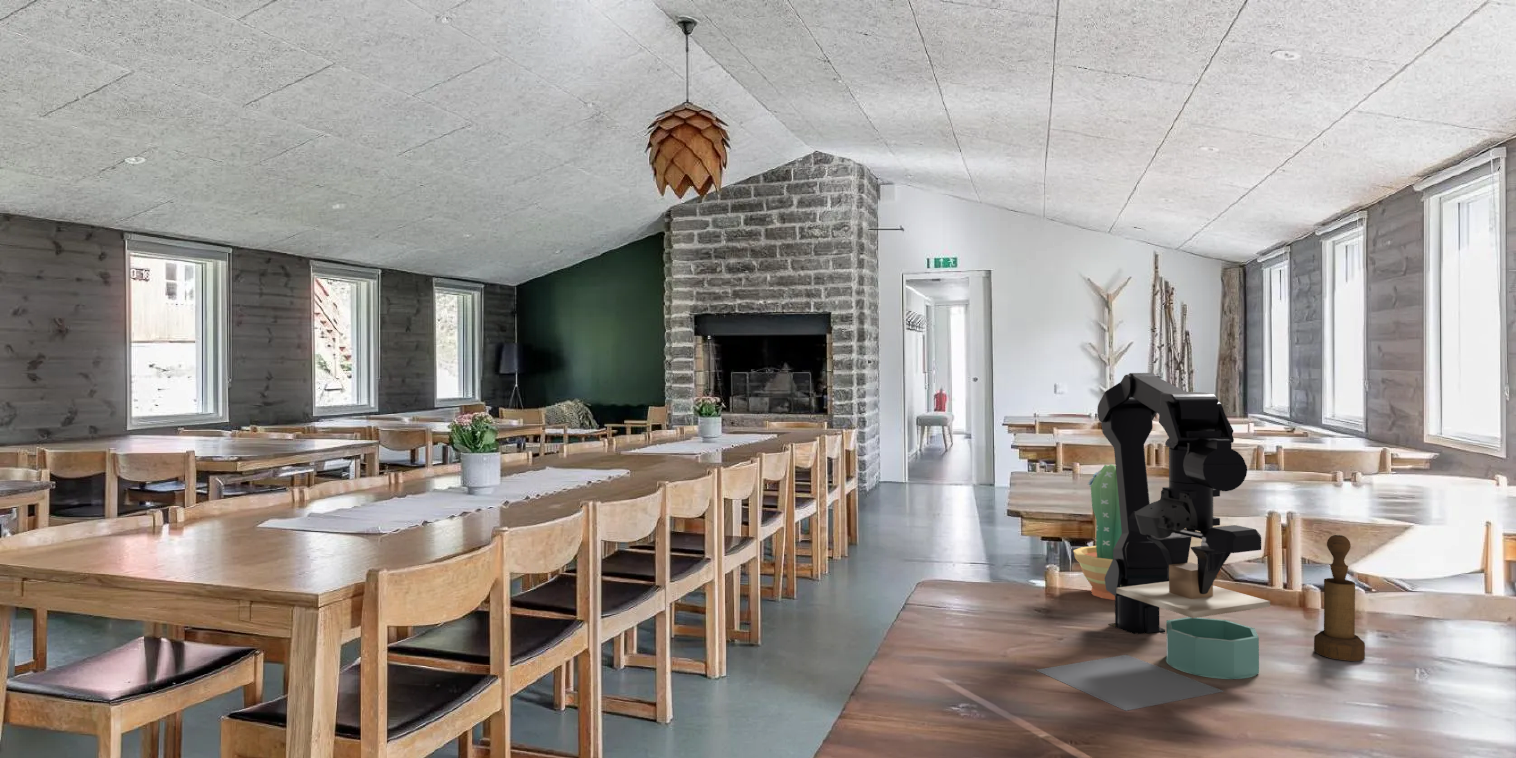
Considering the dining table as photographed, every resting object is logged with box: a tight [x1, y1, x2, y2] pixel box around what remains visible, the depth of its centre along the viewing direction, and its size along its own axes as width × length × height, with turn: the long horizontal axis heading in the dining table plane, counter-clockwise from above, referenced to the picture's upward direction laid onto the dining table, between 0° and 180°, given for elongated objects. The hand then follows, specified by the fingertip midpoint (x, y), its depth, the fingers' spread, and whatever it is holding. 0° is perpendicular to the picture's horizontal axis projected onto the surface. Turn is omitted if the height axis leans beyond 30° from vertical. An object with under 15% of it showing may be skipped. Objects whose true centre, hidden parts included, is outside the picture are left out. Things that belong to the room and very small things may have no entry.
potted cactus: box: [1073, 463, 1122, 601], centre depth 174 cm, size 15×15×25 cm
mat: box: [1035, 654, 1225, 712], centre depth 124 cm, size 17×17×1 cm
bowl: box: [1165, 616, 1260, 680], centre depth 130 cm, size 12×12×6 cm
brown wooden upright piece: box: [1313, 534, 1366, 662], centre depth 136 cm, size 7×6×18 cm
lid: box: [1116, 561, 1271, 618], centre depth 129 cm, size 14×14×5 cm
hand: (1191, 590), depth 129 cm, fingers closed on lid, 4 cm apart
